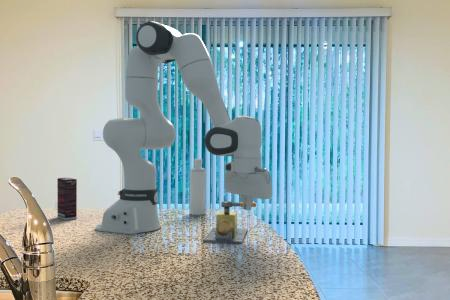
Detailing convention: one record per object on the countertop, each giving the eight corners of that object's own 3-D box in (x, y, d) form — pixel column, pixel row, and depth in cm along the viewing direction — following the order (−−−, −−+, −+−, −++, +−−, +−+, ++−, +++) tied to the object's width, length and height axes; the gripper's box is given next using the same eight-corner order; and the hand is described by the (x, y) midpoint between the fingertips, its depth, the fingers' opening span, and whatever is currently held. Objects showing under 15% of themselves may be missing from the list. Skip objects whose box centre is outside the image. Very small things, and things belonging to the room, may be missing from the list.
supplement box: (77, 219, 153) (77, 178, 152) (64, 220, 150) (64, 179, 149) (69, 215, 159) (68, 177, 159) (56, 217, 156) (56, 178, 155)
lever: (221, 207, 125) (221, 203, 125) (221, 205, 129) (221, 201, 129) (256, 207, 125) (256, 203, 125) (255, 205, 128) (255, 201, 128)
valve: (203, 242, 120) (203, 211, 119) (213, 229, 136) (213, 202, 136) (241, 244, 118) (242, 212, 117) (247, 231, 134) (247, 203, 134)
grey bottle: (187, 214, 164) (187, 155, 163) (195, 211, 170) (195, 154, 169) (200, 215, 161) (200, 155, 160) (208, 213, 167) (208, 155, 166)
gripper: (277, 168, 117) (276, 213, 118) (236, 164, 134) (235, 204, 134) (261, 169, 114) (261, 216, 114) (221, 165, 130) (221, 206, 131)
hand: (247, 209), depth 124 cm, fingers closed
